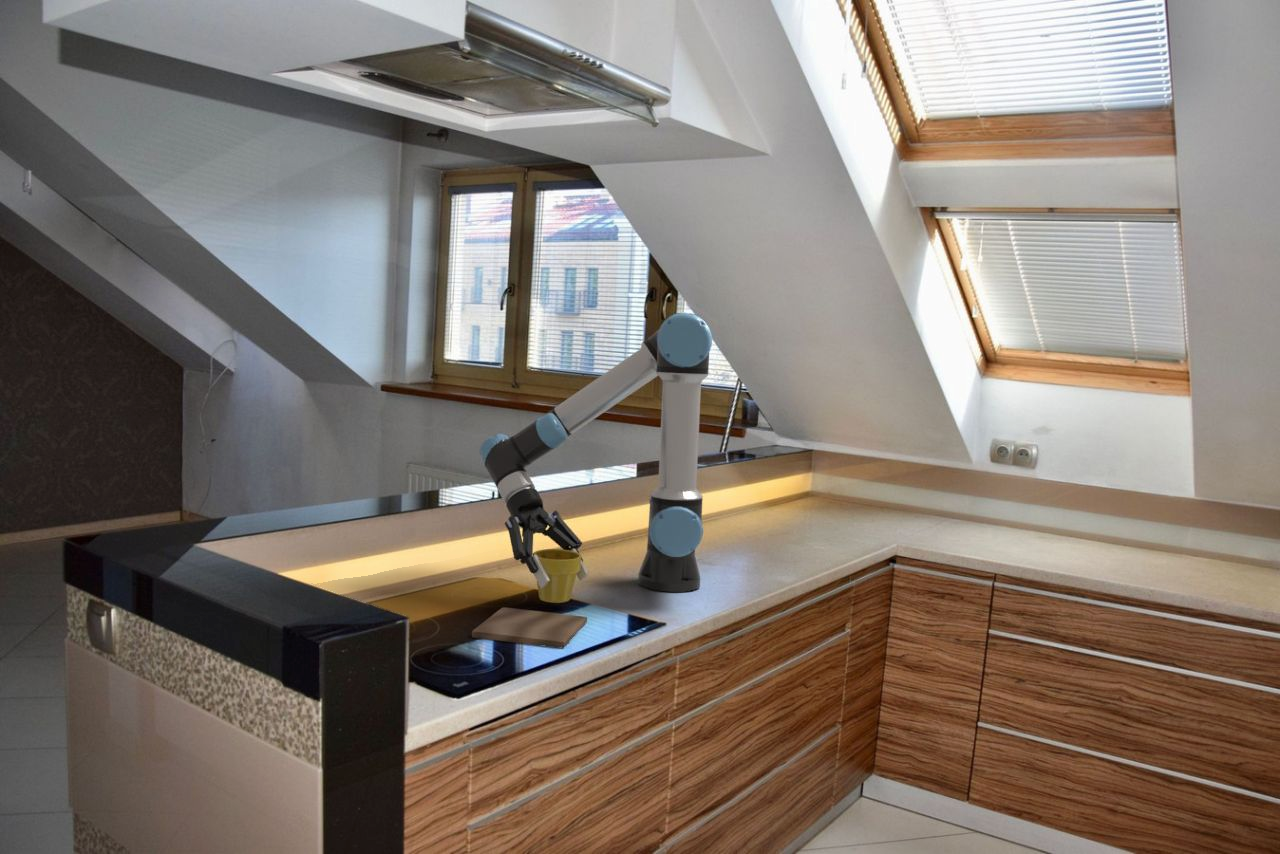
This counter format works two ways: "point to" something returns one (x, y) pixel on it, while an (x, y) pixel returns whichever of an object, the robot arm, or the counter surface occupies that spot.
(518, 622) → the walnut board
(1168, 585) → the counter surface
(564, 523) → the robot arm
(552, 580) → the plant pot
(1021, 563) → the counter surface
